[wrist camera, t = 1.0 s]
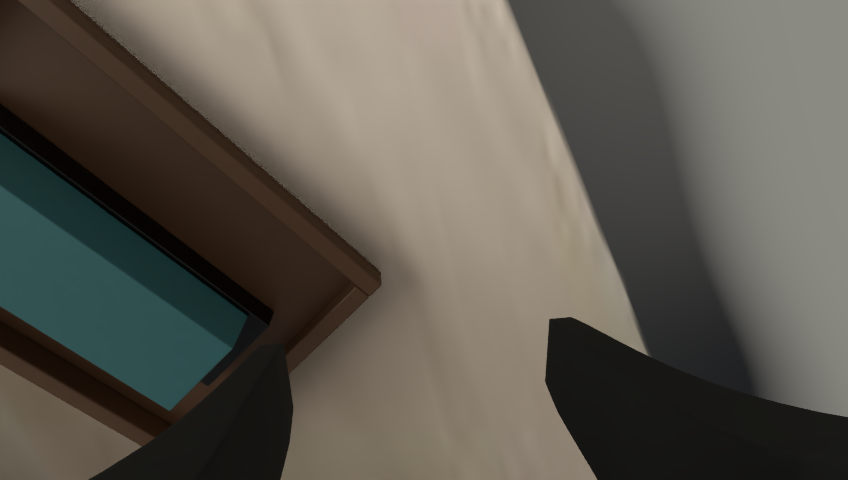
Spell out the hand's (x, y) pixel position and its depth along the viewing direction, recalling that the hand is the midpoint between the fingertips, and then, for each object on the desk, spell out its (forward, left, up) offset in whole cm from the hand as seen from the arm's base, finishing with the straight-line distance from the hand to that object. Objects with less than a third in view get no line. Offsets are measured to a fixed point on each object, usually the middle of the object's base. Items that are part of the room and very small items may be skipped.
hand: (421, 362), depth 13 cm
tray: (-8, +9, -10) cm, 16 cm away
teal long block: (-8, +9, -10) cm, 15 cm away
